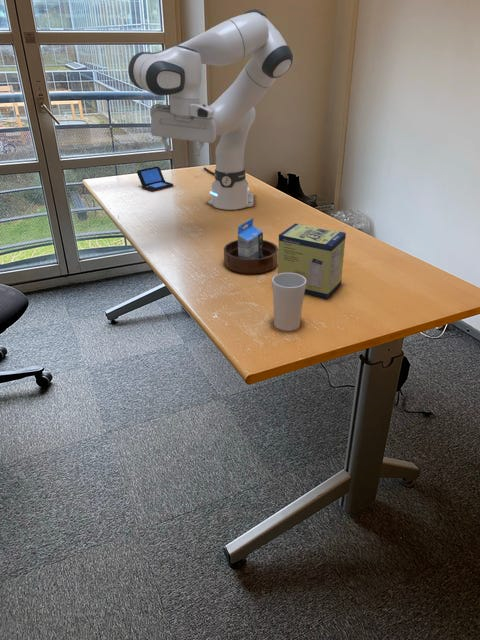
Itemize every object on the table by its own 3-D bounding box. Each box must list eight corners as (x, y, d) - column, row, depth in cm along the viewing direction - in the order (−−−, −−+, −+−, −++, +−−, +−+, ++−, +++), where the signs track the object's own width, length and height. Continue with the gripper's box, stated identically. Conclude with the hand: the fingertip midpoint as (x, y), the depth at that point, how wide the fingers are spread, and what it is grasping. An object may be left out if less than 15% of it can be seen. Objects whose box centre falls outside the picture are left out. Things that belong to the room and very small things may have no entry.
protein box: (291, 272, 149) (294, 222, 141) (341, 284, 142) (347, 232, 134) (275, 286, 141) (277, 234, 133) (327, 299, 135) (333, 245, 127)
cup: (268, 316, 127) (270, 273, 121) (299, 315, 128) (302, 271, 122) (273, 333, 120) (274, 288, 114) (306, 331, 121) (309, 286, 115)
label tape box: (248, 267, 150) (249, 228, 144) (237, 264, 152) (237, 226, 146) (263, 257, 157) (264, 219, 150) (252, 255, 159) (252, 217, 152)
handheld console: (151, 192, 220) (150, 175, 216) (137, 187, 227) (135, 170, 223) (174, 186, 228) (173, 169, 224) (160, 181, 234) (158, 165, 231)
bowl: (231, 251, 163) (231, 236, 161) (281, 255, 160) (282, 240, 157) (218, 272, 149) (217, 257, 147) (272, 277, 146) (273, 262, 144)
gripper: (148, 104, 149) (147, 152, 157) (216, 113, 149) (213, 160, 157) (152, 101, 155) (152, 147, 162) (218, 109, 155) (215, 155, 162)
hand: (182, 153), depth 159 cm, fingers open, 8 cm apart
